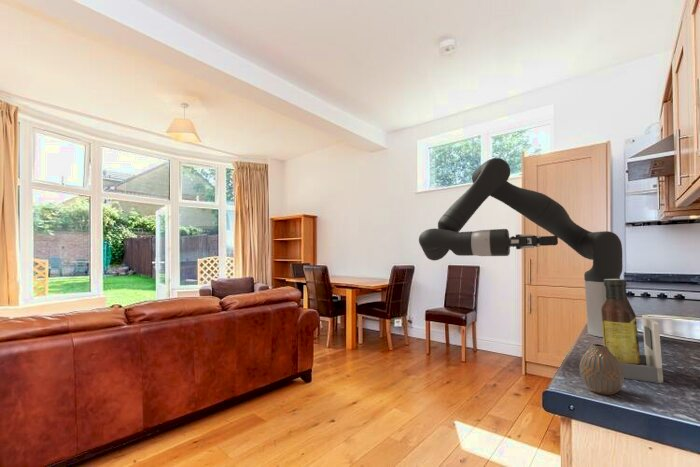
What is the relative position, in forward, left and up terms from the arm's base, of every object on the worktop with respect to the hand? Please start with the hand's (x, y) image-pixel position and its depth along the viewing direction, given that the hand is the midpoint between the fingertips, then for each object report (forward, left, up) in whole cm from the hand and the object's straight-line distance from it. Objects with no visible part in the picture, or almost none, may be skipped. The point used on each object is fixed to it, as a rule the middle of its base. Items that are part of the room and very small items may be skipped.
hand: (557, 240), depth 86 cm
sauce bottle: (+4, +11, -29) cm, 32 cm away
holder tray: (+4, +11, -30) cm, 32 cm away
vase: (+19, +6, -30) cm, 36 cm away
